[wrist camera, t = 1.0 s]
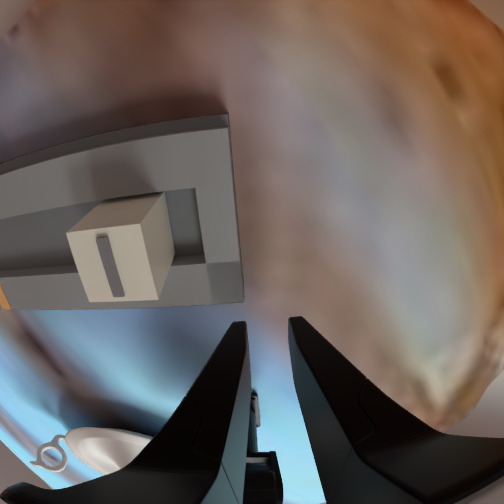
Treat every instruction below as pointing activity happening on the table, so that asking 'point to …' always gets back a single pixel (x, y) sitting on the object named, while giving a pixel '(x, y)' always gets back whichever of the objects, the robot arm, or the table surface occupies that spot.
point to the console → (115, 186)
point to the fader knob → (124, 248)
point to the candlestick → (96, 448)
